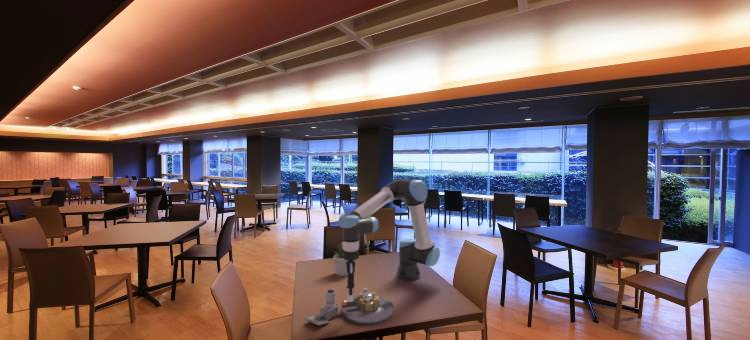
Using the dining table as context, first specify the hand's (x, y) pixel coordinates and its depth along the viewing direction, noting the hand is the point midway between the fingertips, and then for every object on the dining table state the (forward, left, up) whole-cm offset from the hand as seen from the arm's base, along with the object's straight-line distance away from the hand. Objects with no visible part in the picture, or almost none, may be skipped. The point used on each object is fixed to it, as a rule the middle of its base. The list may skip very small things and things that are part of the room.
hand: (350, 300), depth 132 cm
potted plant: (+1, -57, -9) cm, 58 cm away
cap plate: (-9, -6, -8) cm, 14 cm away
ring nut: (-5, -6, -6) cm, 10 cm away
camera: (+12, -1, -9) cm, 15 cm away
